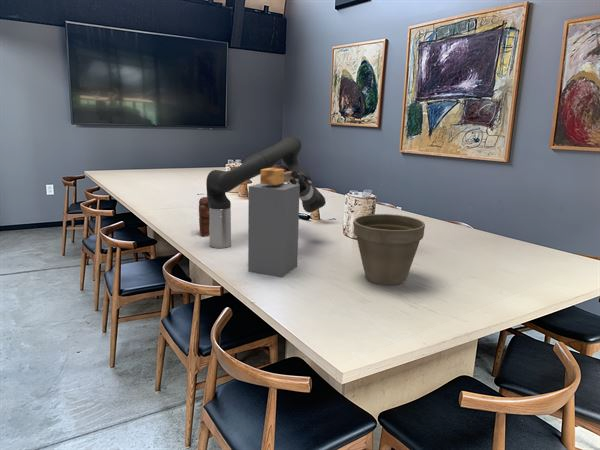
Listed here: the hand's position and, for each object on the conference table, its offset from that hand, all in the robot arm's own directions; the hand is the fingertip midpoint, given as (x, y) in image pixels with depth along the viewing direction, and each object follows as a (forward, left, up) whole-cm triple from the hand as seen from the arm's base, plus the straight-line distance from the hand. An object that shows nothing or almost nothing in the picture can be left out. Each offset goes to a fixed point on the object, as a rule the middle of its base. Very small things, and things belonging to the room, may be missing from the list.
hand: (288, 171), depth 180 cm
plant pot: (+37, +18, -36) cm, 55 cm away
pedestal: (+6, -11, -36) cm, 38 cm away
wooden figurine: (-55, -8, -36) cm, 66 cm away
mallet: (+3, -6, -3) cm, 7 cm away
